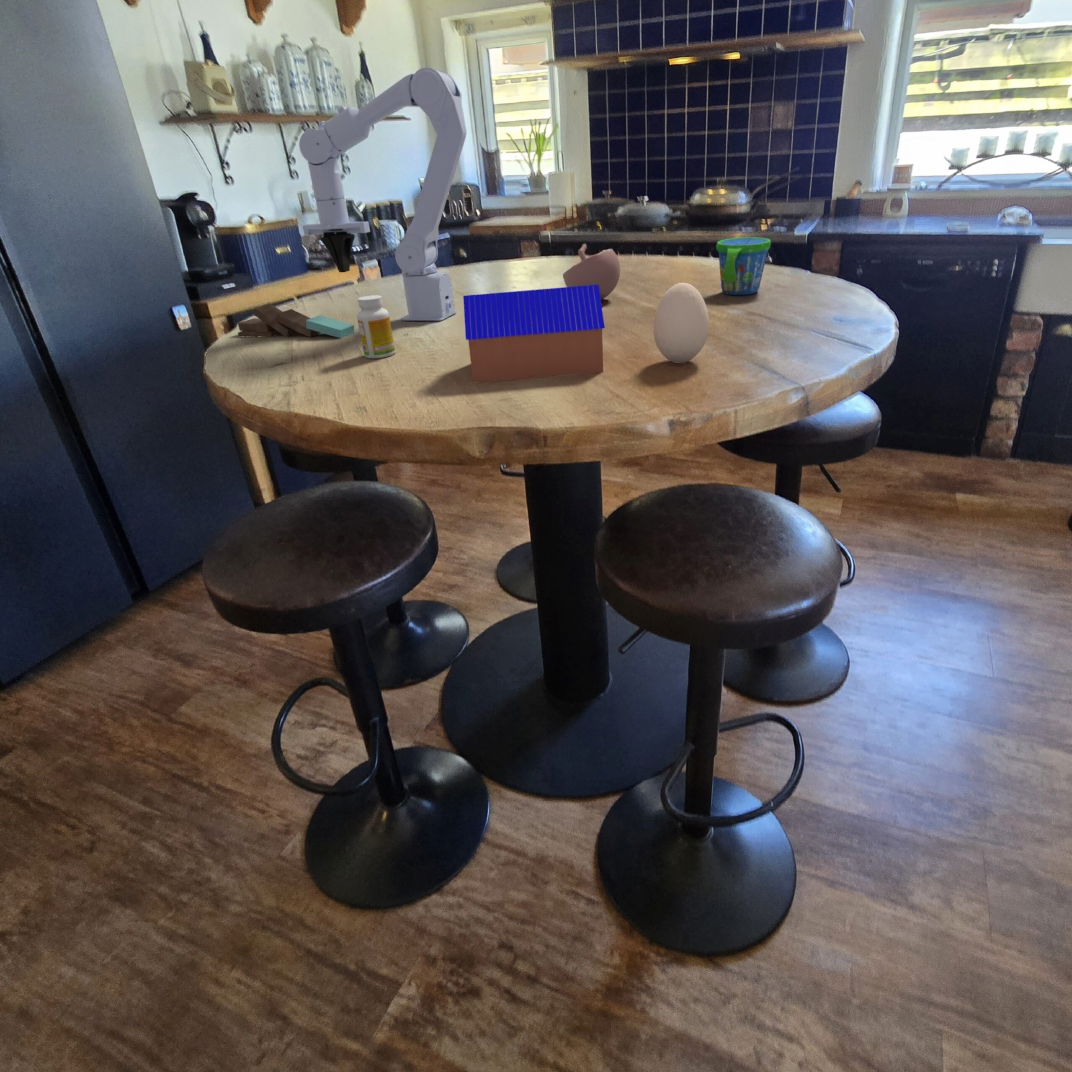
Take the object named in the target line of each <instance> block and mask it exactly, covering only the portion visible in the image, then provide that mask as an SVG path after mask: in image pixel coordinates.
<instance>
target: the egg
mask: <svg viewBox="0 0 1072 1072" xmlns="http://www.w3.org/2000/svg"><path fill="white" fill-rule="evenodd" d="M709 325H710V316H709V311H708V308H707V305H706V303H705V299H704V298H703V296H702V295H701V292H700V291H699V290H698V289H697V288H696V287H695V286H693V285H691V284H690V283H687V282H679V283H676V284H674V285H672V286H671V287H670V288H669V289H668V290H666V291H665V293H664V295H663V296H662V297H661V299H660V301H659V303H658V306H657V308H656V311H655V313H654V319H653V326H652V327H653V329H652V330H653V331H652V332H653V339H654V342H655V345H656V348H657V349H658V351H659V352H660V353H661V354H662V356H663V357H664V358H665V359H667V360H668V361H670V362H672V363H675V364H685V363H688V362H689V361H691V360H693V359H694V358H695V357H696V356H697V355H698V354H699V353H700V352H701V350H702V349H703V348H704V346H705V344H706V341H707V339H708V335H709V330H710V329H709V328H710V326H709Z"/></svg>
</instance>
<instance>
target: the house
mask: <svg viewBox="0 0 1072 1072" xmlns="http://www.w3.org/2000/svg"><path fill="white" fill-rule="evenodd" d="M462 297H463V298H462V299H463V315H464V329H465V330H464V332H465V333H464V334H465V340H466V341H468V349H469V356H470V366H471V374H472V375H471V376H472V383H473V382H478V383H487V382H488V381H490V382H496V381H495V380H502V381H509V380H508V379H514V380H523V379H524V378H525V379H534V378H535V379H536V378H537V379H538V378H547V377H548V378H549V377H558V376H568V375H569V376H570V375H571V376H572V375H573V376H574V375H581V374H582V375H583V374H594V373H595V374H596V373H604V352H603V351H604V349H603V345H604V344H603V343H604V342H603V341H604V340H603V330H604V329H605V328H606V327H605V320H604V319H605V318H604V313H603V306H602V299H601V298H600V292H599V285H586V286H574V287H567V286H565V287H564V286H563V287H554V288H553V287H551V288H550V287H549V288H541V289H539V288H538V289H528V290H516V291H503V292H490V293H481V294H480V293H479V294H468V295H463V296H462ZM525 379H524V380H525ZM485 381H487V382H485Z"/></svg>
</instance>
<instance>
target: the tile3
mask: <svg viewBox="0 0 1072 1072" xmlns="http://www.w3.org/2000/svg"><path fill="white" fill-rule="evenodd" d="M281 312H283V311H282V310H281V309H279V308H278V307H276V306H275V305H274V304H272V303H266V304H264V305H261V306H257V307H255V309H254V313H253V316H255V317H256V318H258V319H261V320H262V321H264V322H265V323H267V324H268V325H270V326H271V327H273V328H274V329H276V330H277V331H279V332H280V333H281V334H282V335H283V336H284V337H286V336H287V337H289V336H291V335H294V334H297V333H299V332H298V331H296V330H293V329H291V328H289V327H287V326H285V325H283V324H281V323H279V322H277V321H276V320H277V314H278V313H281Z"/></svg>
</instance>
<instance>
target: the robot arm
mask: <svg viewBox="0 0 1072 1072" xmlns="http://www.w3.org/2000/svg"><path fill="white" fill-rule="evenodd" d="M462 99H463V95H462V92H461V90H460V89H459V86H458V84H457V83H456V81H455V79H454V77H452V76H451V74H449V73H448V72H445V71H442V70H436V69H435V68H433V67H427V66H425V67H421V68H419V69H418V70H416V72H414V73H409V74H406V75H405V76H404V77H402V78H401V79H399V80H398V81H396V82H395V83H393V84H392V85H391V86H390V87H388V88H387V89H386V90H384V91H383V92H382V93H380V94H379V95H377V96H375V98H373V99H372V100H371V101H369V102H368V103H366V104H365V105H364V106H362V107H361V108H356V107H354V106H351V105H350V106H348V107H346V106H343V105H342V106H341V107H339V108H338V109H337V112H338V113H337V114H336V115H334V116H332V117H331V118H330V119H328V120H326V121H324V120H321V121H320V122H318V129H317V128H307V129H305V131H304V132H303V133H302V134H301V136H300V137H299V144H298V145H299V151H300V153H301V156H302V157H303V158H304V159H305V160H306V161H307V164H308V170H309V174H310V180H311V184H312V190H313V195H314V200H315V204H316V209H317V214H318V218H319V219H318V220H319V223H311V224H310V223H309V224H303V225H302V229H303V233H304V236H314V235H318V236H319V235H323V237H322V236H321V237H320V241H321V243H322V244H323V245H324V247H326V249H327V251H328V252H329V254H330V256H331V257H332V259H333V263H335V265H336V268H337V271H338V272H339V273H347V272H350V265H351V252H352V247H353V244H354V241H355V237H356V236H355V234H358V233H359V234H367V233H370V232H371V229H370V222H369V221H350V218H349V213H348V207H347V203H346V202H347V201H346V196H345V192H344V187H343V186H344V185H343V182H342V177H341V170H340V166H339V158H340V156H341V155H343V154H344V153H345V152H347V151H348V150H350V149H352V148H353V147H355V146H357V145H358V144H360V143H361V142H363V141H365V140H367V139H368V138H369V134H370V130H371V127H373V126H374V125H376V124H378V123H379V122H382V121H383V120H385V119H386V118H389V117H390V116H391V115H393V114H395V113H397V112H399V111H400V110H403V109H404V108H406V107H409V108H410V107H412V108H420V109H421V110H422V111H423V112H424V114H425V115H426V116H427V117H428V119H429V121H430V123H431V125H432V127H433V128H434V130H435V132H436V138H435V142H434V145H433V148H432V152H431V157H430V160H429V163H428V167H427V169H426V173H425V177H424V180H423V183H422V186H421V190H420V194H419V197H418V202H417V205H416V208H415V212H414V215H413V219H412V221H411V223H410V224H409V226H408V227H407V230H406V231H405V235H404V238H403V239H402V241H401V242H400V243H398V245H397V247H396V249H395V252H394V255H395V257H394V258H395V261H396V264H397V266H398V268H400V270H401V274H402V282H403V287H404V296H405V300H406V308H407V314H406V315H404V316H403V317H401V318H400V321H417V322H418V321H421V322H422V321H428V322H429V321H431V322H433V321H436V322H437V321H439V322H440V321H443V320H445V319H447V318H449V317H450V316H452V315H455V314H456V313H457V310H456V308H455V300H454V293H453V291H454V290H453V284H452V280H451V277H450V276H449V274H448V273H446V272H440V271H438V268H437V265H436V263H435V262H436V261H437V259H438V257H439V256H438V255H439V251H438V250H439V249H438V240H439V238H440V233H439V232H440V231H439V225H440V223H441V220H442V216H443V213H444V209H445V206H446V202H447V200H448V196H449V194H450V190H451V187H452V184H453V179H454V177H455V174H456V170H457V166H458V164H459V161H460V158H461V154H462V151H463V149H464V148H463V147H464V145H465V141H466V137H467V127H466V126H467V125H466V121H465V116H464V114H465V113H464V109H463V104H462V103H463V101H462ZM339 229H341V230H339Z"/></svg>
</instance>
